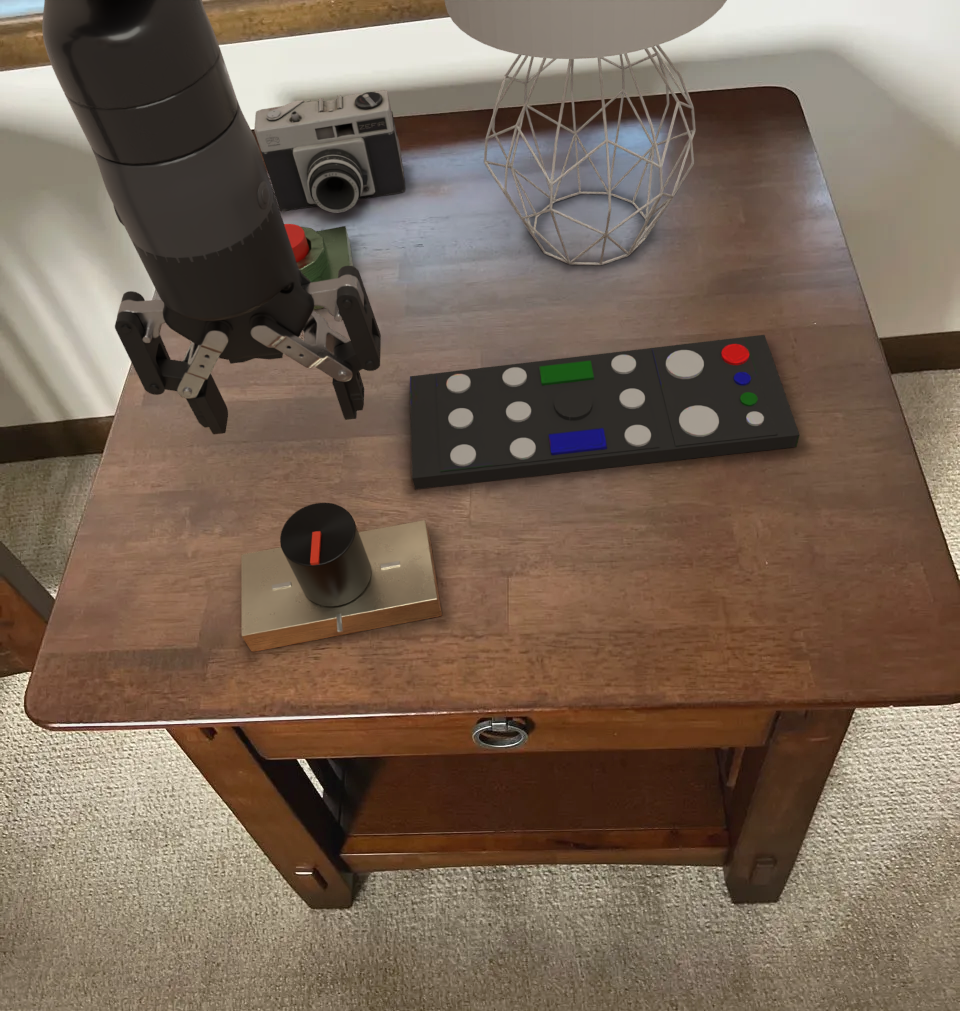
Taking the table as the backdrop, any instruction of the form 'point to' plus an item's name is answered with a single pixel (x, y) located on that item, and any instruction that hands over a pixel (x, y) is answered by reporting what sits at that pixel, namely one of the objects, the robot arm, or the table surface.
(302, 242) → the button
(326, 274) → the box
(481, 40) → the table lamp
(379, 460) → the table surface
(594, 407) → the remote control
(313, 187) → the camera
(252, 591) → the panel
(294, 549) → the hob knob
